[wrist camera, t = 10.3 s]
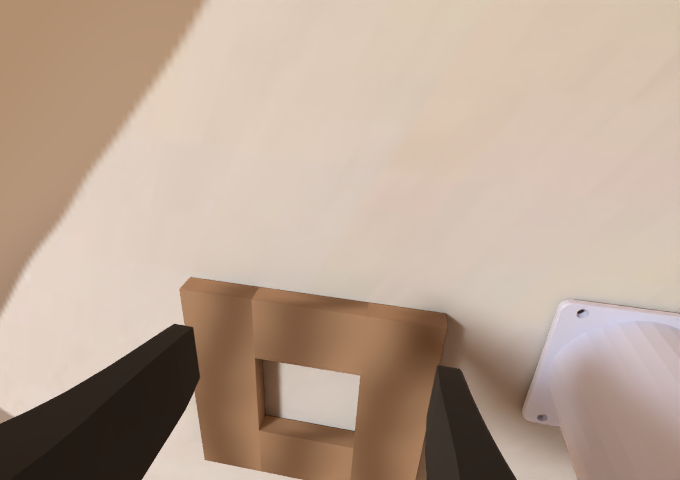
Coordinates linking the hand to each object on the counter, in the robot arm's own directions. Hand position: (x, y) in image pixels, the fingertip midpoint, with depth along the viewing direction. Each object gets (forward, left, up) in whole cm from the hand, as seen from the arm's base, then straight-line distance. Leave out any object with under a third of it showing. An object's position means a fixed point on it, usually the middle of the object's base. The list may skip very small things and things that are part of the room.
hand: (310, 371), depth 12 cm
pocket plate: (+2, +11, -9) cm, 15 cm away
